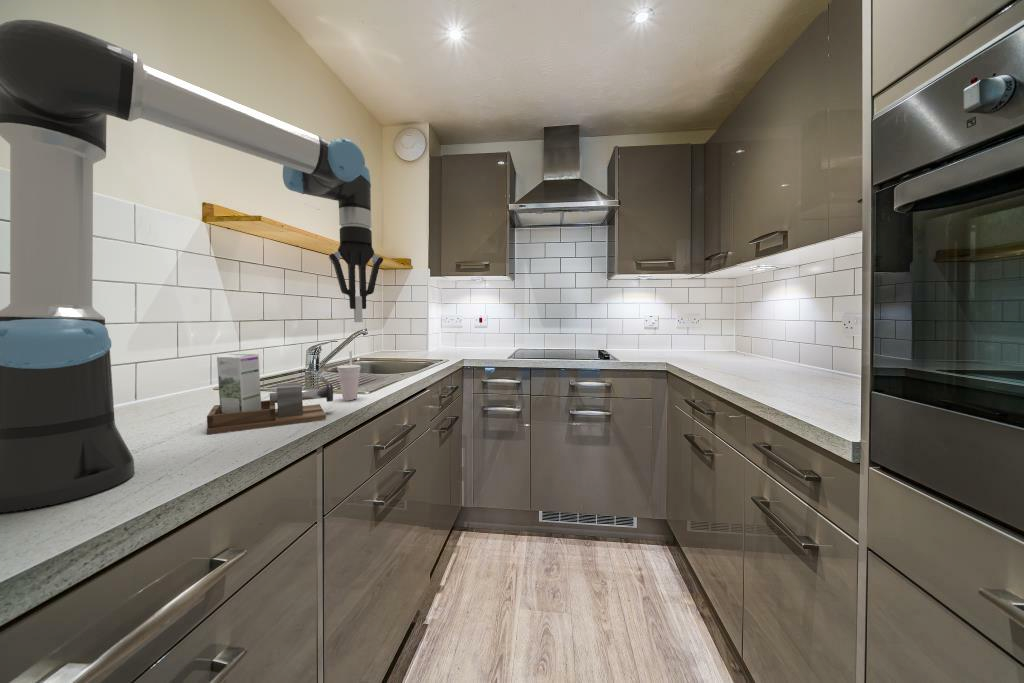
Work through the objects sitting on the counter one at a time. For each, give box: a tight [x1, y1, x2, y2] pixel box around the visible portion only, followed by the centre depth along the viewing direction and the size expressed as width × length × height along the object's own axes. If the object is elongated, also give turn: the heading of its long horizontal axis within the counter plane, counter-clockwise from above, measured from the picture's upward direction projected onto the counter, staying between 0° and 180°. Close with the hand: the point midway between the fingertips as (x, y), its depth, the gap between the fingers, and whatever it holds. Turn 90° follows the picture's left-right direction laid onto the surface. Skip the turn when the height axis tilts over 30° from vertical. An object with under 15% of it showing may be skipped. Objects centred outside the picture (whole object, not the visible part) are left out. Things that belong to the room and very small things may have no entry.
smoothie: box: [336, 350, 362, 401], centre depth 114 cm, size 6×6×14 cm
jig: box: [206, 381, 327, 435], centre depth 92 cm, size 14×22×8 cm, turn 121°
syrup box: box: [216, 353, 262, 414], centre depth 89 cm, size 6×6×14 cm
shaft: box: [269, 383, 334, 404], centre depth 95 cm, size 4×13×4 cm, turn 121°
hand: (358, 322), depth 101 cm, fingers closed
